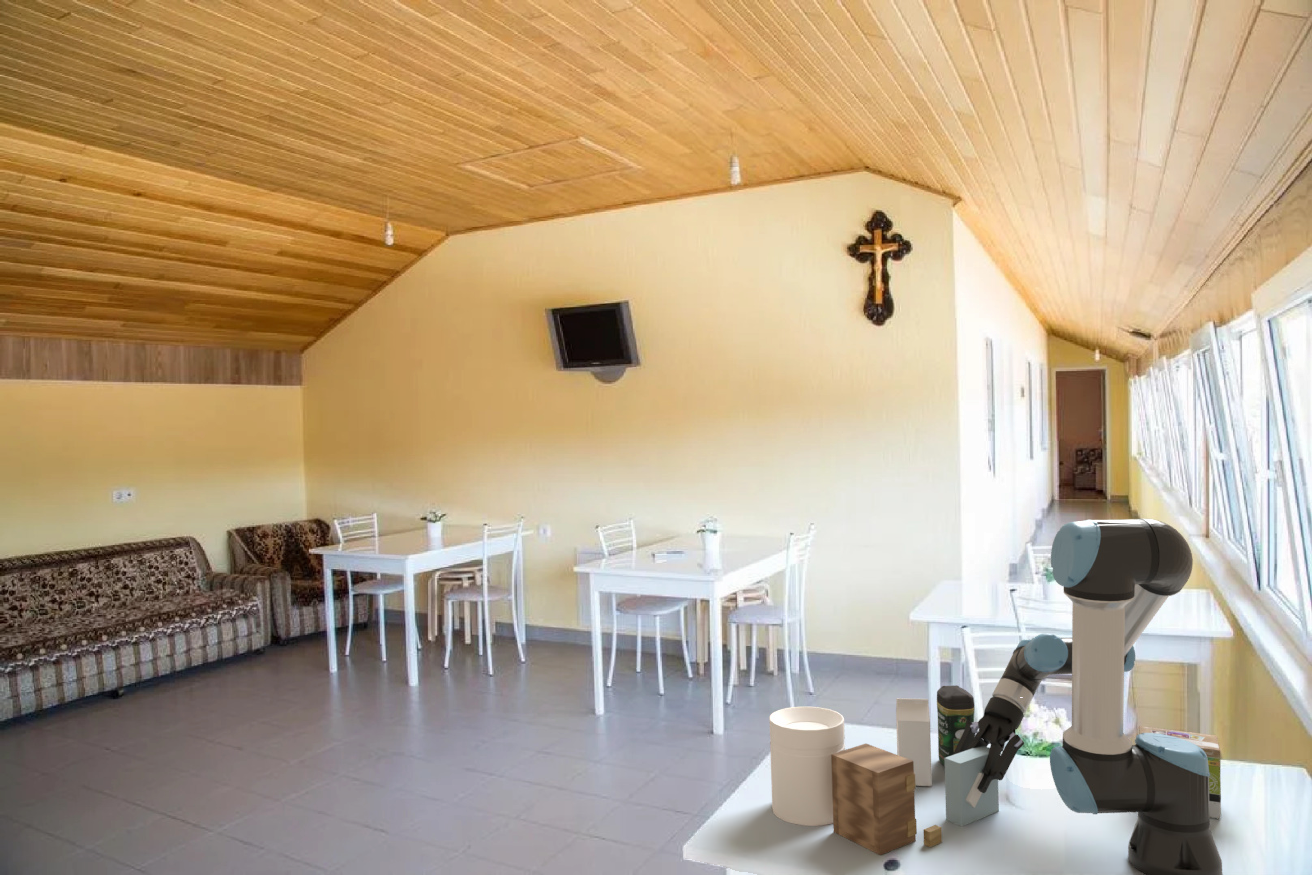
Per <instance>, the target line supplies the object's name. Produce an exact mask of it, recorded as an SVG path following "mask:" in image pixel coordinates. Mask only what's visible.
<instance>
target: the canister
mask: <svg viewBox="0 0 1312 875" xmlns="http://www.w3.org/2000/svg"><path fill="white" fill-rule="evenodd" d="M769 736H770V737H769V738H770V741H769V742H770V743H769V744H770V745H769V746H770V773H771V774H770V777H771V778H770V779H771V807H772V808H771V809H772V813H773V814H774V815H775V816H776V817H777V818H779V819H780V820H782V821H784V822H786V823H790V824H792V825H793V824H794V825H800V826H806V827H807V826H809V827H811V826H812V827H813V826H815V827H816V826H818V827H819V826H826V825H833V796H832V763H831V754H833V753H837V752H840V751H843V750H846V744H845V740H846V739H845V737H846V734H845V718H844V716H843V715H842V714H841V713H839V712H838V711H835V710H833V709H830V708H825V707H818V706H793V707H791V706H790V707H785V708H781V709H778V710H775V711H773V712H772V713H771V714H770V715H769Z"/></svg>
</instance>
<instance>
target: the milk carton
mask: <svg viewBox="0 0 1312 875" xmlns="http://www.w3.org/2000/svg"><path fill="white" fill-rule="evenodd" d="M929 708H930V706H929V699H928V698H904V697H903V698H902V697H901V698H898V697H897V698H896V707H895V718H896V719H895V720H896V723H895V724H896V725H895V726H896V751H897V752H896V755H899V756H901V757H904V758H907V759H909V760H912V761H913V763H914V774H915V787H916V786H917V787H919V786H920V787H933V782H932V781H933V780H932V779H933V778H932V775H933V774H932V749H931V747H932V744H931V718H930V717H931V716H930V709H929Z"/></svg>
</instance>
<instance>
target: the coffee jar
mask: <svg viewBox="0 0 1312 875" xmlns="http://www.w3.org/2000/svg"><path fill="white" fill-rule="evenodd" d="M936 709H937V711H936V712H937V734H938V735H937V736H938V737H937V738H938V740H937V741H938V742H937V743H938V744H937V748H938V750H937V752H938V760H939V761H940V763H941V765H942V766H943V767H945V760H944V758H946V757H949V756H951V755H953V753H954V751H955V749H956V747H957V745H958V743H959V741H960V738H961V736H962V734H963V732H964V730H965V724H966V721H967V720H970V721H971V722H975V700H974V696H973V695H972V694H971V693H970V692H969V691H967V690H966V689H964V688H962V687H960V686H959V685H956V684H955V685H942V686H941V687H939V689H938V690H937V692H936ZM974 739H975V737H974ZM974 739H973V740H974Z"/></svg>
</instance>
